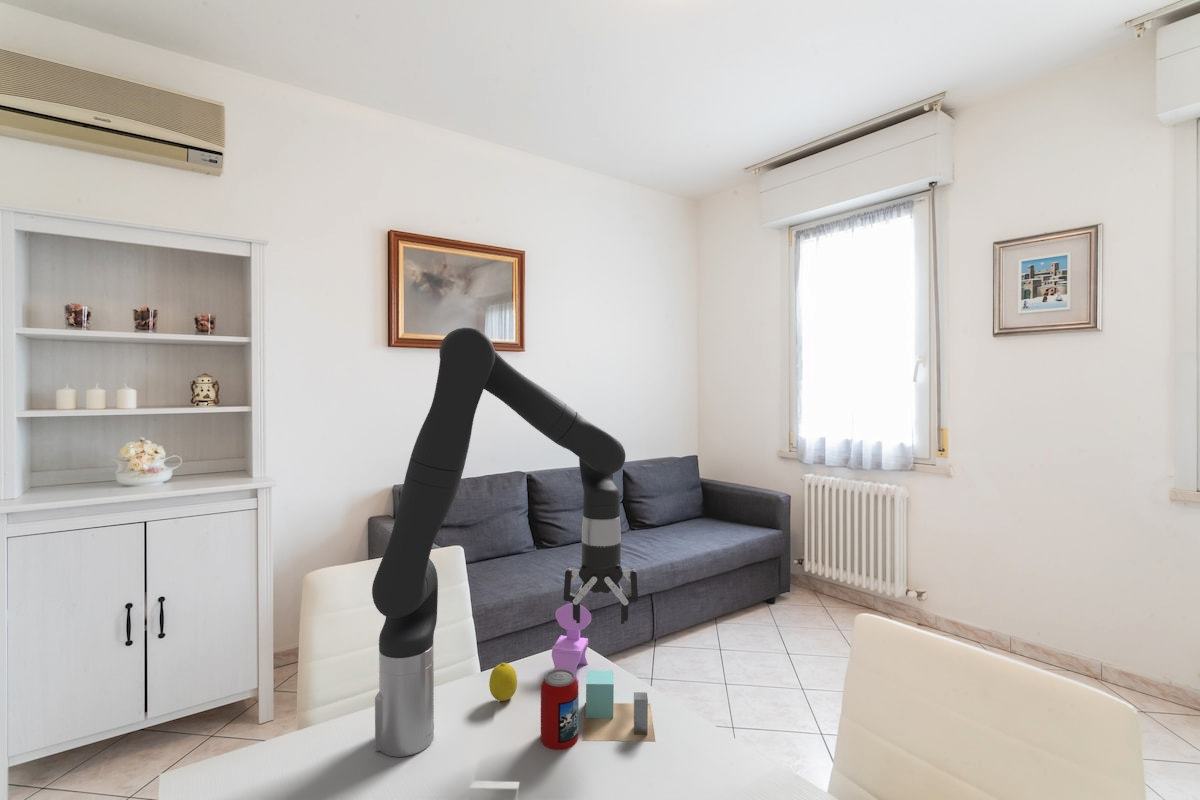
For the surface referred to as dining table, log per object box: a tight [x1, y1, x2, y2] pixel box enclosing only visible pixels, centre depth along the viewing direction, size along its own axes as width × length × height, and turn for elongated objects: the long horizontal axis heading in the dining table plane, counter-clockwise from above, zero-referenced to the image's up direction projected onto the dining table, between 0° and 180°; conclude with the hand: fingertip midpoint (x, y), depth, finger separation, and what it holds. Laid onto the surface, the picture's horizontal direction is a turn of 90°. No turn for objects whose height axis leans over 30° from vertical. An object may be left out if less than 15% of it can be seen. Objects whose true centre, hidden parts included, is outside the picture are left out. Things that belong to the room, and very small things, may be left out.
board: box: [582, 702, 656, 742], centre depth 109 cm, size 13×12×1 cm
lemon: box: [488, 662, 518, 702], centre depth 116 cm, size 6×6×8 cm
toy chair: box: [551, 602, 592, 683], centre depth 127 cm, size 8×9×15 cm
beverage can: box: [540, 669, 580, 751], centre depth 103 cm, size 7×7×12 cm
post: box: [633, 691, 649, 735], centre depth 106 cm, size 2×2×6 cm
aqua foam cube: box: [585, 669, 615, 718], centre depth 112 cm, size 5×5×7 cm
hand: (600, 622), depth 112 cm, fingers open, 8 cm apart
